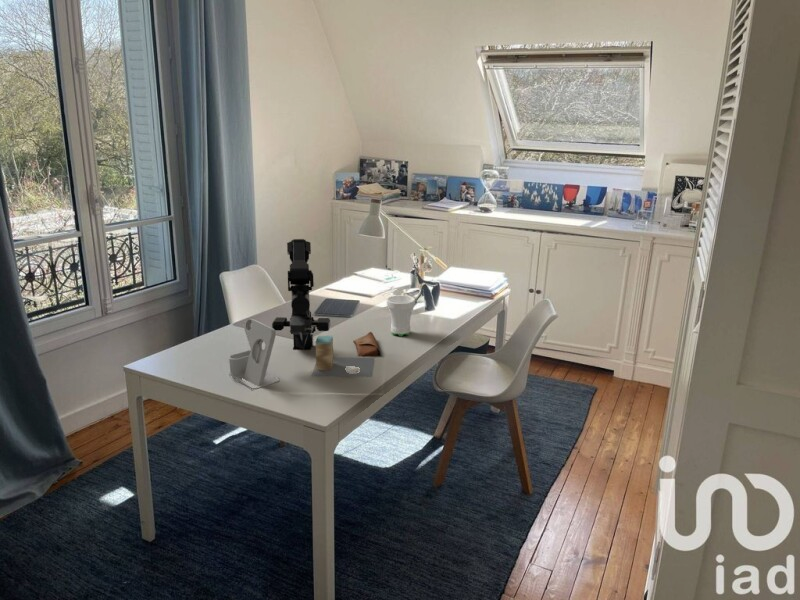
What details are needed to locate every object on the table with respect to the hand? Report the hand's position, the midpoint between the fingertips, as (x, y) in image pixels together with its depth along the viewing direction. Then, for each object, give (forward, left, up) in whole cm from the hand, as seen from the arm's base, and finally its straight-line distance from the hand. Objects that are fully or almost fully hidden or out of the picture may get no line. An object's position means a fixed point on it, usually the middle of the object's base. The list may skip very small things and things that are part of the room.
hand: (302, 348), depth 204 cm
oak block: (+7, 0, -7) cm, 10 cm away
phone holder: (-15, -9, -7) cm, 19 cm away
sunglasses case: (+20, +18, -8) cm, 28 cm away
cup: (+33, +34, -7) cm, 48 cm away
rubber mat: (+14, 0, -7) cm, 16 cm away
